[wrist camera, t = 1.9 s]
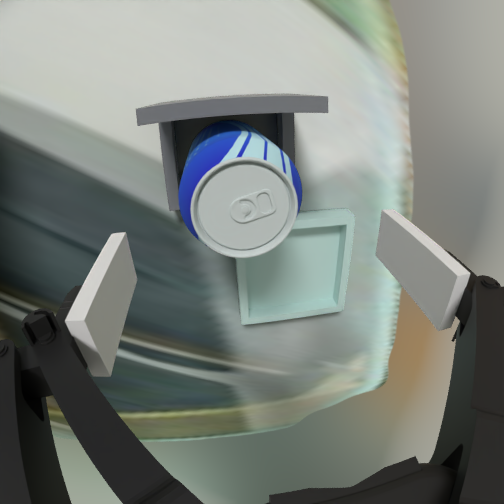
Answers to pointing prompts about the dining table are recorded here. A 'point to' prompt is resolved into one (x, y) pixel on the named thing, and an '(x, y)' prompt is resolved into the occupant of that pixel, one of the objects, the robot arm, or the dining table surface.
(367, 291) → the dining table surface
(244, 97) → the bay
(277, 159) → the beer can
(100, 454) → the robot arm
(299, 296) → the tray
